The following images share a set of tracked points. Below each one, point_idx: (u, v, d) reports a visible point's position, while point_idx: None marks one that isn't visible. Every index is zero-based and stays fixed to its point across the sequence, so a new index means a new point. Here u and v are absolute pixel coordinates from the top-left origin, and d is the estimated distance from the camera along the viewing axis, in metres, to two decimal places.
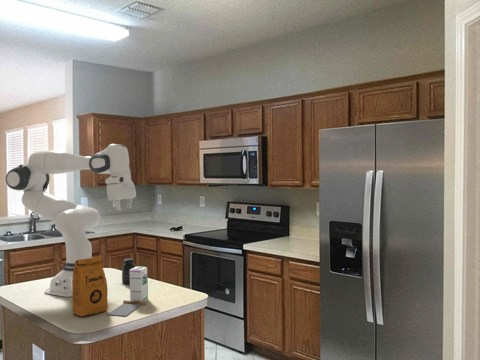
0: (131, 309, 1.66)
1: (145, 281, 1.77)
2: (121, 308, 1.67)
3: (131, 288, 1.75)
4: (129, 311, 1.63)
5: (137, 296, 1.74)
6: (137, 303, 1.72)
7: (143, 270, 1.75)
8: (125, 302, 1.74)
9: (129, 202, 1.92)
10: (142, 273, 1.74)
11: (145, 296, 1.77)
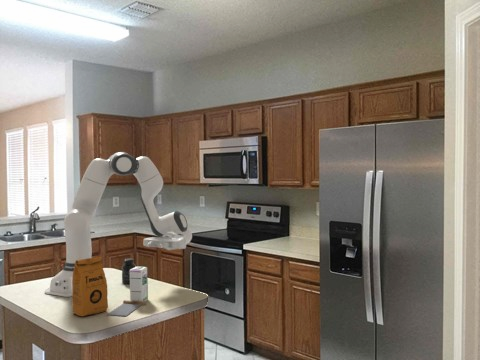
0: (131, 309, 1.66)
1: (145, 281, 1.77)
2: (121, 308, 1.67)
3: (131, 288, 1.75)
4: (129, 311, 1.63)
5: (137, 296, 1.74)
6: (137, 303, 1.72)
7: (143, 270, 1.75)
8: (125, 302, 1.74)
9: None
10: (142, 273, 1.74)
11: (145, 296, 1.77)
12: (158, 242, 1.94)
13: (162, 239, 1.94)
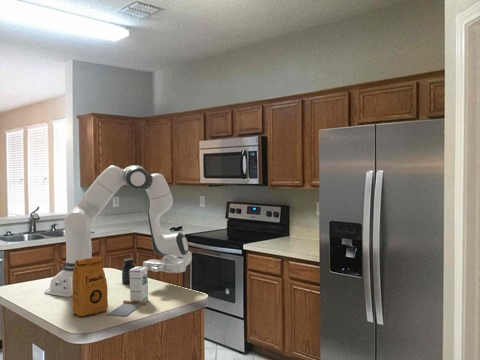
0: (131, 309, 1.66)
1: (145, 281, 1.77)
2: (121, 308, 1.67)
3: (131, 288, 1.75)
4: (129, 311, 1.63)
5: (137, 296, 1.74)
6: (137, 303, 1.72)
7: (143, 270, 1.75)
8: (125, 302, 1.74)
9: None
10: (142, 273, 1.74)
11: (145, 296, 1.77)
12: None
13: (162, 262, 1.94)
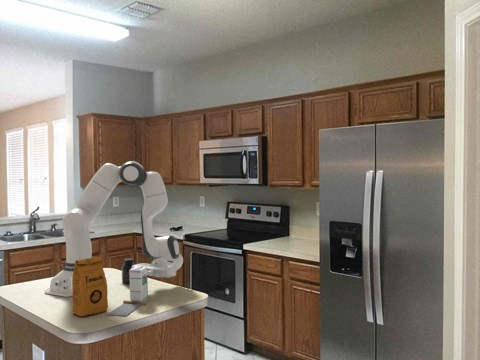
0: (131, 309, 1.66)
1: (145, 281, 1.77)
2: (121, 308, 1.67)
3: (131, 288, 1.75)
4: (129, 311, 1.63)
5: (137, 296, 1.74)
6: (137, 303, 1.72)
7: (143, 270, 1.75)
8: (125, 302, 1.74)
9: None
10: (142, 273, 1.74)
11: (145, 296, 1.77)
12: (147, 270, 1.85)
13: (151, 267, 1.86)
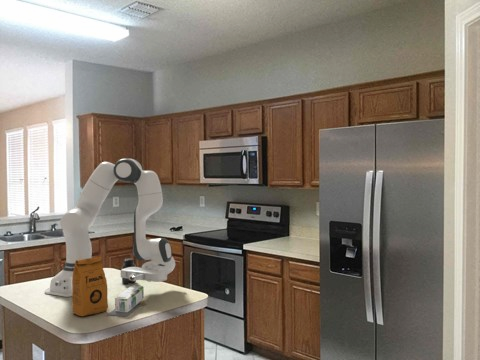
0: (131, 309, 1.66)
1: (134, 299, 1.67)
2: None
3: None
4: (129, 311, 1.63)
5: None
6: None
7: (128, 307, 1.62)
8: None
9: None
10: (129, 309, 1.63)
11: (141, 293, 1.74)
12: None
13: (141, 270, 1.78)
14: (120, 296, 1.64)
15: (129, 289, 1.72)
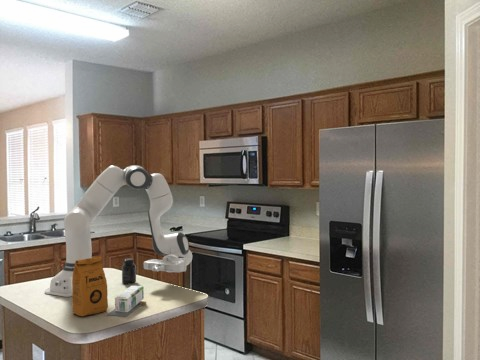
0: (131, 309, 1.66)
1: (134, 299, 1.67)
2: None
3: None
4: (129, 311, 1.63)
5: None
6: None
7: (128, 307, 1.62)
8: None
9: None
10: (129, 309, 1.63)
11: (141, 293, 1.74)
12: None
13: (162, 262, 1.94)
14: (120, 296, 1.64)
15: (129, 289, 1.72)
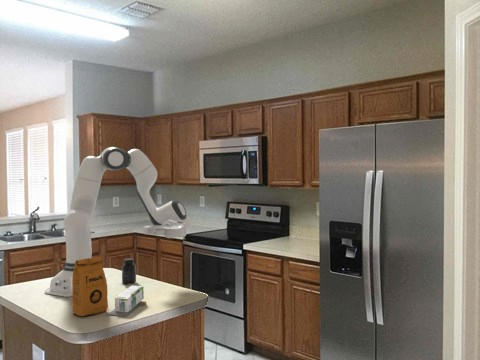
0: (131, 309, 1.66)
1: (134, 299, 1.67)
2: None
3: None
4: (129, 311, 1.63)
5: None
6: None
7: (128, 307, 1.62)
8: None
9: None
10: (129, 309, 1.63)
11: (141, 293, 1.74)
12: (158, 230, 1.93)
13: (162, 227, 1.94)
14: (120, 296, 1.64)
15: (129, 289, 1.72)
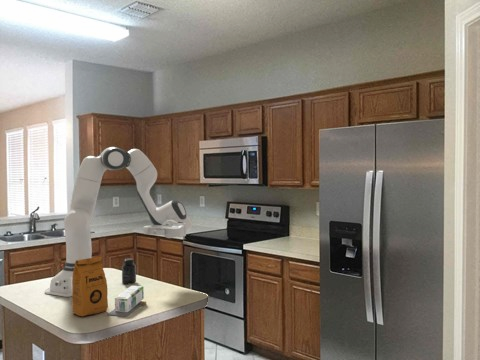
0: (131, 309, 1.66)
1: (134, 299, 1.67)
2: None
3: None
4: (129, 311, 1.63)
5: None
6: None
7: (128, 307, 1.62)
8: None
9: None
10: (129, 309, 1.63)
11: (141, 293, 1.74)
12: (158, 229, 1.93)
13: (162, 227, 1.94)
14: (120, 296, 1.64)
15: (129, 289, 1.72)
